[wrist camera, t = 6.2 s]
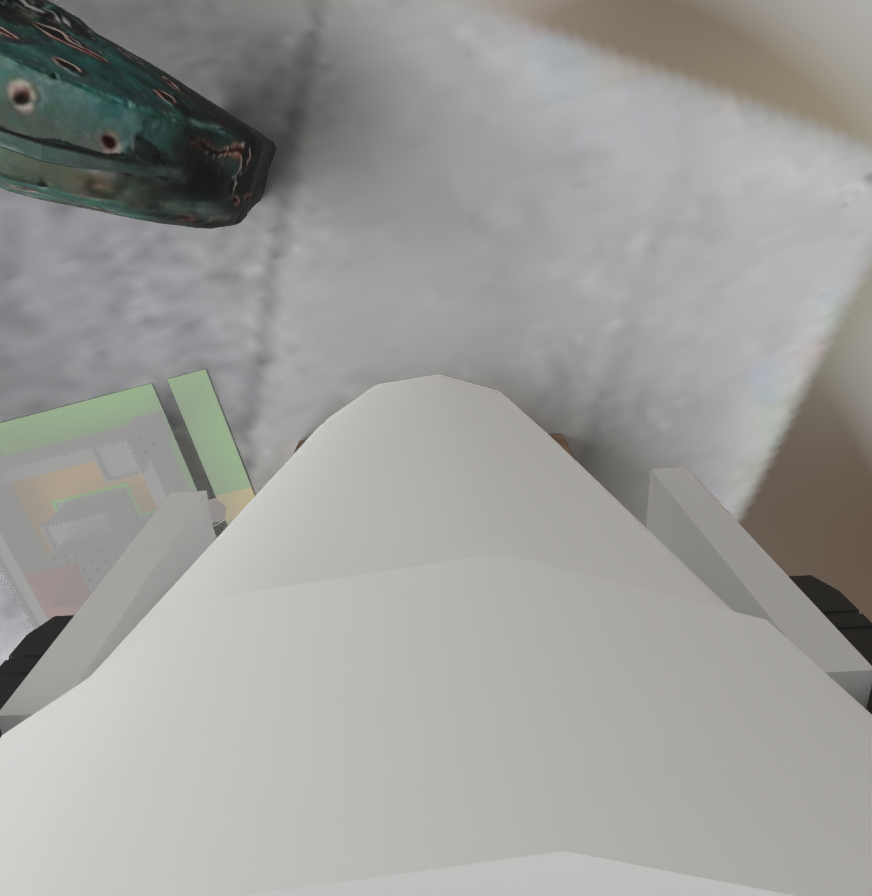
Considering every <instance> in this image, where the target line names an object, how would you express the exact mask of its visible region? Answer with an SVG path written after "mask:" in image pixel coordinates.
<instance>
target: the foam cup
mask: <svg viewBox="0 0 872 896" xmlns="http://www.w3.org/2000/svg"><path fill="white" fill-rule="evenodd" d="M0 896H872V714H871V713H870V712H868V711H867V710H866V709H865V708H864V707H863V706H862V705H861V704H860V703H858V702H857V701H856V700H855V699H854V698H853V697H852V696H851V695H850V694H848V693H847V692H846V691H845V690H844V689H843V688H842V687H841V686H840V685H838V684H837V683H836V682H835V681H834V680H833V679H832V678H831V677H830V676H828V675H827V674H826V673H825V672H824V671H823V670H822V669H821V668H819V667H818V666H817V665H816V664H815V663H814V662H813V661H812V660H811V659H809V658H808V657H807V656H806V655H805V654H804V653H803V652H802V651H801V650H799V649H798V648H797V647H796V646H795V645H794V644H793V643H792V642H791V641H789V640H788V639H787V638H786V637H785V636H784V635H783V634H782V633H781V632H779V631H778V630H777V629H776V628H775V627H774V626H773V625H772V624H770V623H769V622H768V621H767V620H766V619H762V618H758V617H753V616H749V615H745V614H741V613H737V612H734V611H733V610H731V609H730V608H729V607H728V606H727V605H726V604H725V603H724V602H723V601H722V600H721V599H720V598H719V597H718V596H717V595H716V594H715V593H714V592H713V591H712V590H711V589H710V588H709V587H707V586H706V585H705V584H704V583H703V582H702V581H701V580H700V579H699V578H698V577H697V576H696V575H695V574H694V573H693V572H692V571H691V570H690V569H689V568H688V567H687V566H686V565H684V564H683V563H682V562H681V561H680V560H679V559H678V558H677V557H676V556H675V555H674V554H673V553H672V552H671V551H670V550H669V549H668V548H667V547H666V546H665V545H664V544H663V543H662V542H660V541H659V540H658V539H657V538H656V537H655V536H654V535H653V534H652V533H651V532H650V531H649V530H648V529H647V528H646V527H645V526H644V525H643V524H642V523H641V522H640V521H639V520H637V519H636V518H635V517H634V516H633V515H632V514H631V513H630V512H629V511H628V510H627V509H626V508H625V507H624V506H623V505H622V504H621V503H620V502H619V501H618V500H617V499H616V498H614V497H613V496H612V495H611V494H610V493H609V492H608V491H607V490H606V489H605V488H604V487H603V486H602V485H601V484H600V483H599V482H598V481H597V480H596V479H595V478H594V477H593V476H592V475H590V474H589V473H588V472H587V471H586V470H585V469H584V468H583V467H582V466H581V465H580V464H579V463H578V462H577V461H576V460H575V459H574V458H573V457H572V456H571V455H570V454H569V453H567V452H566V451H565V450H564V449H563V448H562V447H561V446H560V445H559V444H558V443H557V442H556V441H555V440H554V439H553V438H552V437H551V436H550V435H548V434H547V433H546V432H545V431H544V430H543V429H542V428H541V427H539V426H538V425H537V424H536V423H535V422H534V421H533V420H532V419H531V418H529V417H528V416H527V415H526V414H525V413H524V412H523V411H522V410H520V409H519V408H518V407H517V406H516V405H515V404H514V403H513V402H511V401H510V400H509V399H508V398H507V397H506V396H505V395H503V394H502V393H501V392H500V391H498V390H494V389H491V388H487V387H483V386H480V385H476V384H473V383H469V382H466V381H462V380H458V379H455V378H451V377H448V376H444V375H441V374H436V375H430V376H424V377H418V378H412V379H406V380H400V381H394V382H388V383H382V384H376V385H375V386H373V387H372V388H371V389H369V390H368V391H366V392H365V393H363V394H362V395H361V396H359V397H358V398H356V399H355V400H353V401H352V402H350V403H349V404H348V405H346V406H345V407H343V408H342V409H340V410H339V411H338V412H336V413H335V414H333V415H332V416H330V417H329V418H328V419H326V421H325V422H324V423H323V424H321V425H320V426H319V427H318V428H317V429H316V430H315V431H314V432H313V433H312V435H311V436H310V437H309V438H308V439H307V440H306V441H305V442H304V443H303V444H302V446H301V447H300V448H299V449H298V450H297V451H296V452H295V453H294V454H293V455H292V456H291V458H290V459H289V460H288V461H287V462H286V463H285V464H284V465H283V466H282V467H281V468H280V470H279V471H278V472H277V473H276V474H275V475H274V476H273V477H272V478H271V479H270V481H269V482H268V483H267V484H266V485H265V486H264V487H263V488H262V489H261V490H260V491H259V493H258V494H257V495H256V496H255V497H254V498H253V499H252V500H251V501H250V502H249V503H248V505H247V506H246V507H245V508H244V509H243V510H242V511H241V512H240V513H239V514H238V516H237V517H236V518H235V519H234V520H233V521H232V522H231V523H230V524H229V525H228V526H227V528H226V529H225V530H224V531H223V532H222V533H221V534H220V535H219V536H218V537H217V539H216V540H215V541H214V542H213V543H212V544H211V545H210V546H209V547H208V548H207V549H206V551H205V552H204V553H203V554H202V555H201V556H200V557H199V558H198V559H197V560H196V561H195V563H194V564H193V565H192V566H191V567H190V568H189V569H188V570H187V571H186V572H185V574H184V575H183V576H182V577H181V578H180V579H179V580H178V581H177V582H176V583H175V584H174V586H173V587H172V588H171V589H170V590H169V591H168V592H167V593H166V594H165V595H164V596H163V598H162V599H161V600H160V601H159V602H158V603H157V604H156V605H155V606H154V607H153V609H152V610H151V611H150V612H149V613H148V614H147V615H146V616H145V617H144V618H143V619H142V621H141V622H140V623H139V624H138V625H137V626H136V627H135V628H134V629H133V630H132V631H131V633H130V634H129V635H128V636H127V637H126V638H125V639H124V640H123V641H122V642H121V644H120V645H119V646H118V647H117V648H116V649H115V650H114V651H113V652H112V653H111V654H110V656H109V657H108V658H107V659H106V660H105V661H104V662H103V663H102V664H101V665H100V666H99V668H98V669H97V670H96V671H95V672H94V673H93V674H92V675H91V676H90V677H89V678H88V679H86V680H85V681H83V682H82V683H80V684H79V685H77V686H76V687H74V688H73V689H71V690H69V691H68V692H66V693H65V694H63V695H62V696H60V697H59V698H57V699H56V700H54V701H53V702H51V703H50V704H48V705H47V706H45V707H44V708H42V709H41V710H39V711H38V712H36V713H35V714H33V715H32V716H30V717H29V718H27V719H26V720H24V721H23V722H21V723H20V724H18V725H17V726H15V727H14V728H12V729H11V730H9V731H8V732H6V733H5V734H3V735H2V736H1V738H0Z"/></svg>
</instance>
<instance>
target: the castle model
mask: <svg viewBox="0 0 872 896" xmlns="http://www.w3.org/2000/svg"><path fill="white" fill-rule="evenodd" d="M167 380H168V383H169V385H170V388H171V390H172V392H173V395H174V397H175V400H176V402H177V404H178V407H179V409H180V412H181V414H182V417H183V419H184V421H185V424H186V426H187V429H188V431H189V434H190V436H191V438H192V441H193V443H194V446H195V448H196V450H197V453H198V455H199V458H200V460H201V463H202V465H203V467H204V470H205V472H206V475H207V477H208V479H209V482H210V484H211V487H212V489H213V492H214V494H215V496H216V498H213V499H209V500H208V501H209V507H210V513H211V518H212V523H217V522H219V523H217V524H216V525H218V524H220V523H222V522H223V521H226V523H227V525H229V524H230V523H231V522H232V521H233V520H234V519H235V518H236V517H237V516H238V514H239V513H240V512H241V511H242V510H243V509H244V508H245V507H246V506H247V505H248V503H249V502H250V501H251V500H252V499H253V498H254V497H255V494H254V492H253V489H252V487H251V484H250V481H249V479H248V476H247V474H246V471H245V469H244V466H243V464H242V461H241V458H240V456H239V453H238V451H237V448H236V446H235V443H234V441H233V438H232V435H231V433H230V430H229V428H228V425H227V423H226V420H225V417H224V415H223V412H222V410H221V407H220V405H219V402H218V400H217V397H216V394H215V392H214V389H213V387H212V384H211V382H210V379H209V376H208V374H207V371H206V369H204V370H200V371H197V372H193V373H189V374H185V375H181V376H177V377H174V378H170V379H167ZM186 491H197V489H196V486H195V484H194V482H193V479H192V477H191V475H190V472H189V470H188V468H187V465H186V463H185V460H184V458H183V456H182V453H181V451H180V449H179V446H178V444H177V441H176V439H175V437H174V434H173V432H172V430H171V427H170V425H169V423H168V420H167V418H166V415H165V413H164V411H163V408H162V406H161V404H160V401H159V399H158V397H157V394H156V392H155V389H154V387H153V385H152V383H151V384H147V385H143V386H139V387H136V388H132V389H128V390H124V391H120V392H117V393H113V394H109V395H105V396H101V397H98V398H94V399H90V400H86V401H82V402H79V403H75V404H71V405H67V406H63V407H59V408H56V409H52V410H48V411H44V412H40V413H37V414H33V415H29V416H25V417H21V418H18V419H14V420H10V421H6V422H2V423H0V569H2V571H1V572H2V573H5V574H4V577H7V578H6V580H8V581H9V582H8V584H11V585H10V588H13V589H12V591H15V593H14V595H17V596H16V598H17V599H18V598H19V600H18V602H21V604H20V605H21V606H23V607H22V609H23V610H24V609H25V611H24V612H25V613H27V614H26V616H27V617H28V616H29V618H28V620H31V621H30V623H31V624H32V623H33V625H32V627H35V628H34V630H35V629H36V628H38V627H39V626H41V625H42V624H44V623H45V622H47V621H48V620H50V619H51V618H53V617H54V616H67V615H75V614H76V613H77V611H78V610H79V609H80V608H81V606H82V605H83V604H84V602H85V601H86V600H87V599H88V597H89V596H90V595H91V594H92V592H93V591H94V590H95V588H96V587H97V586H98V585H99V583H100V582H101V581H102V579H103V578H104V577H105V576H106V574H107V573H108V572H109V571H110V569H111V568H112V567H113V565H114V564H115V563H116V562H117V560H118V559H119V558H120V556H121V555H122V554H123V553H124V551H125V550H126V549H127V548H128V546H129V545H130V544H131V542H132V541H133V540H134V539H135V537H136V536H137V535H138V533H139V532H140V531H141V530H142V528H143V527H144V526H145V524H146V523H147V522H148V521H149V519H150V518H151V517H152V516H153V514H154V513H155V512H156V510H157V509H158V508H159V507H160V505H161V504H162V503H163V501H164V500H165V499H166V498H167V496H168V495H169V494H170V493H171V492H186ZM216 525H214V526H213V527H215V526H216ZM214 535H215V540H216V539H217V536H216V534H215V531H214Z"/></svg>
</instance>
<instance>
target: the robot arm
mask: <svg viewBox="0 0 872 896" xmlns="http://www.w3.org/2000/svg"><path fill="white" fill-rule="evenodd" d="M646 528H647V529H648V530H649V531H650V532H651V533H652V534H653V535H654V536H655V537H656V538H657V539H658V540H659V541H660V542H662V543H663V544H664V545H665V546H666V547H667V548H668V549H669V550H670V551H671V552H672V553H673V554H674V555H675V556H676V557H677V558H678V559H679V560H680V561H681V562H682V563H683V564H684V565H686V566H687V567H688V568H689V569H690V570H691V571H692V572H693V573H694V574H695V575H696V576H697V577H698V578H699V579H700V580H701V581H702V582H703V583H704V584H705V585H706V586H707V587H709V588H710V589H711V590H712V591H713V592H714V593H715V594H716V595H717V596H718V597H719V598H720V599H721V600H722V601H723V602H724V603H725V604H726V605H727V606H728V607H729V608H730V609H731V610H733V611H734V612H737V613H741V614H745V615H749V616H753V617H758V618H762V619H766V620H767V621H768V622H769V623H770V624H772V625H773V626H774V627H775V628H776V629H777V630H778V631H779V632H781V633H782V634H783V635H784V636H785V637H786V638H787V639H788V640H789V641H791V642H792V643H793V644H794V645H795V646H796V647H797V648H798V649H799V650H801V651H802V652H803V653H804V654H805V655H806V656H807V657H808V658H809V659H811V660H812V661H813V662H814V663H815V664H816V665H817V666H818V667H819V668H821V669H822V670H823V671H824V672H825V673H826V674H827V675H828V676H830V677H831V678H832V679H833V680H834V681H835V682H836V683H837V684H838V685H840V686H841V687H842V688H843V689H844V690H845V691H846V692H847V693H848V694H850V695H851V696H852V697H853V698H854V699H855V700H856V701H857V702H858V703H860V704H861V705H862V706H863V707H864V708H865V709H866V710H867V711H868V712H870V713H871V714H872V623H871V622H870V621H869V620H868V619H867V618H866V617H865V616H864V615H863V614H859V610H858V609H857V608H856V607H855V606H854V605H853V604H852V603H851V602H850V601H849V600H848V599H847V598H846V597H845V596H844V595H843V594H842V593H841V592H840V591H838V590H836V589H835V588H833V587H831V586H829V585H827V584H826V583H824V582H822V581H820V580H818V579H817V578H815V577H813V576H811V575H808V576H787V575H786V574H785V573H784V572H783V570H782V569H781V568H780V567H779V566H778V565H777V564H776V563H775V562H774V561H773V560H772V559H771V557H770V556H769V555H768V554H767V553H766V552H765V551H764V550H763V549H762V548H761V547H760V546H759V545H758V544H757V543H756V541H755V540H754V539H753V538H752V537H751V536H750V535H749V534H748V533H747V532H746V531H745V530H744V529H743V527H742V526H741V525H740V524H739V523H738V522H737V521H736V520H735V519H734V518H733V517H732V516H731V515H730V513H729V512H728V511H727V510H726V509H725V508H724V507H723V506H722V505H721V504H720V503H719V502H718V501H717V500H716V498H715V497H714V496H713V495H712V494H711V493H710V492H709V491H708V490H707V489H706V488H705V487H704V486H703V485H702V483H701V482H700V481H699V480H698V479H697V478H696V477H695V476H694V475H693V474H692V473H691V472H690V471H689V470H688V468H687V467H668V468H650V480H649V493H648V507H647V520H646ZM214 541H215V535H214V529H213V524H212V518H211V513H210V507H209V501H208V496H207V490H206V491H186V492H171V493H170V494H169V495H168V496H167V498H166V499H165V500H164V501H163V503H162V504H161V505H160V507H159V508H158V509H157V510H156V512H155V513H154V514H153V516H152V517H151V518H150V519H149V521H148V522H147V523H146V524H145V526H144V527H143V528H142V530H141V531H140V532H139V533H138V535H137V536H136V537H135V539H134V540H133V541H132V542H131V544H130V545H129V546H128V548H127V549H126V550H125V551H124V553H123V554H122V555H121V556H120V558H119V559H118V560H117V562H116V563H115V564H114V565H113V567H112V568H111V569H110V571H109V572H108V573H107V574H106V576H105V577H104V578H103V579H102V581H101V582H100V583H99V585H98V586H97V587H96V588H95V590H94V591H93V592H92V594H91V595H90V596H89V597H88V599H87V600H86V601H85V602H84V604H83V605H82V606H81V608H80V609H79V610H78V611H77V613H76V614H75V615H67V616H54V617H53V618H51V619H50V620H48V621H47V622H45V623H44V624H42V625H41V626H39V627H38V628H36V629H35V630H34V631H32V632H31V633H29V634H28V635H27V636H26V637H25V638H24V639H23V640H22V641H21V643H20V644H19V645H18V646H17V647H16V648H15V650H14V651H13V652H12V653H11V654H10V656H9V660H5V661H4V663H3V664H2V665H1V666H0V738H1V736H2V735H3V734H5V733H6V732H8V731H9V730H11V729H12V728H14V727H15V726H17V725H18V724H20V723H21V722H23V721H24V720H26V719H27V718H29V717H30V716H32V715H33V714H35V713H36V712H38V711H39V710H41V709H42V708H44V707H45V706H47V705H48V704H50V703H51V702H53V701H54V700H56V699H57V698H59V697H60V696H62V695H63V694H65V693H66V692H68V691H69V690H71V689H73V688H74V687H76V686H77V685H79V684H80V683H82V682H83V681H85V680H86V679H88V678H89V677H90V676H91V675H92V674H93V673H94V672H95V671H96V670H97V669H98V668H99V666H100V665H101V664H102V663H103V662H104V661H105V660H106V659H107V658H108V657H109V656H110V654H111V653H112V652H113V651H114V650H115V649H116V648H117V647H118V646H119V645H120V644H121V642H122V641H123V640H124V639H125V638H126V637H127V636H128V635H129V634H130V633H131V631H132V630H133V629H134V628H135V627H136V626H137V625H138V624H139V623H140V622H141V621H142V619H143V618H144V617H145V616H146V615H147V614H148V613H149V612H150V611H151V610H152V609H153V607H154V606H155V605H156V604H157V603H158V602H159V601H160V600H161V599H162V598H163V596H164V595H165V594H166V593H167V592H168V591H169V590H170V589H171V588H172V587H173V586H174V584H175V583H176V582H177V581H178V580H179V579H180V578H181V577H182V576H183V575H184V574H185V572H186V571H187V570H188V569H189V568H190V567H191V566H192V565H193V564H194V563H195V561H196V560H197V559H198V558H199V557H200V556H201V555H202V554H203V553H204V552H205V551H206V549H207V548H208V547H209V546H210V545H211V544H212V543H213V542H214Z"/></svg>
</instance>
